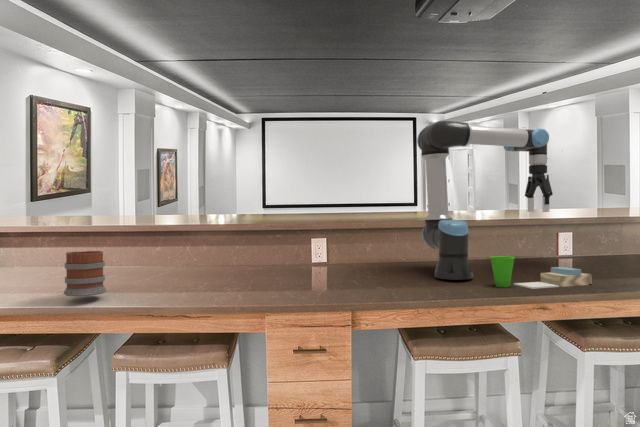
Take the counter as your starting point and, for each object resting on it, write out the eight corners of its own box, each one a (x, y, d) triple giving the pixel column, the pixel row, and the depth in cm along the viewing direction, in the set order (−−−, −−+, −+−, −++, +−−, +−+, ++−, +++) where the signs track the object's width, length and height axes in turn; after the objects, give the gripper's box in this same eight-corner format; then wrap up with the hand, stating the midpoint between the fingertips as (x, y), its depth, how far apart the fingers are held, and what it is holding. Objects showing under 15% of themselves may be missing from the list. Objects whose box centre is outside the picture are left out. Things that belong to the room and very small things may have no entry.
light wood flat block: (560, 287, 185) (560, 276, 185) (540, 283, 194) (540, 273, 194) (591, 284, 189) (591, 274, 189) (571, 281, 199) (571, 271, 199)
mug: (55, 296, 172) (55, 253, 172) (81, 288, 192) (80, 249, 191) (96, 296, 173) (96, 253, 173) (117, 287, 192) (117, 248, 192)
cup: (488, 287, 185) (488, 257, 185) (491, 283, 194) (490, 255, 194) (514, 288, 182) (514, 258, 182) (515, 285, 190) (515, 256, 190)
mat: (532, 288, 181) (532, 287, 181) (513, 284, 191) (513, 283, 191) (559, 287, 185) (559, 285, 185) (539, 283, 194) (539, 281, 194)
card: (568, 275, 187) (568, 270, 187) (550, 272, 195) (550, 267, 195) (581, 274, 188) (581, 269, 188) (563, 271, 197) (563, 266, 197)
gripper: (561, 162, 212) (561, 212, 212) (532, 167, 237) (532, 211, 237) (544, 162, 211) (544, 212, 211) (517, 167, 236) (517, 211, 236)
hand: (538, 212), depth 224 cm, fingers open, 13 cm apart
